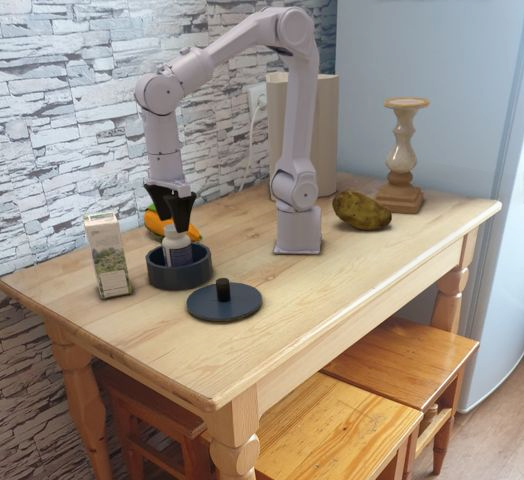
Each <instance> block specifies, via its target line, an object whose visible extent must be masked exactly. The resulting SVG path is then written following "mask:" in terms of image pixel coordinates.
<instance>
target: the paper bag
mask: <svg viewBox="0 0 524 480" xmlns="http://www.w3.org/2000/svg"><path fill="white" fill-rule="evenodd" d="M288 72H289V71H287V72H286V71H285V72H284V71H274V72H271V73H266V74H265V88H266V91H265V92H266V117H267V139H268V141H267V142H268V145H267V146H268V168H269V169H268V170H269V171H268V172H269V182H270V181H271V178H272V176H273V174H274V171H275V164H276V162H277V161H278V160H279V159H280V158H281V157H282V150H283V137H284V124H285V111H286V98H287V85H288ZM339 94H340V74H323V73H318V81H317V91H316V101H315V111H314V120H313V130H312V140H311V150H310V161H311V163H312V165H313V167H314V169H315V171H316V184H317V187H318V197H317V198H323V197H329V196H331V195H332V194H334V193H337V177H338V176H337V173H338V171H337V170H338V138H339V137H338V136H339V135H338V133H339V100H340V99H339V98H340V97H339V96H340V95H339ZM270 200H271V201H274V202H276V197H274V196H273V195H272V193H271V192H270Z"/></svg>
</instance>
